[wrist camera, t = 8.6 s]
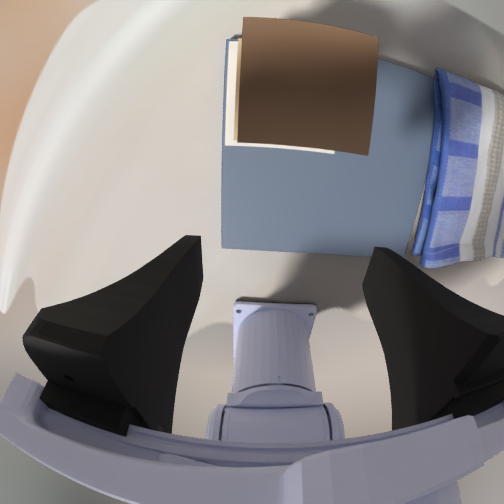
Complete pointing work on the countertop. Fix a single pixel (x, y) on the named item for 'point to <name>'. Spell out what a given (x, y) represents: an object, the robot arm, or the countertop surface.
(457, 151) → the dish towel
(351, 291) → the countertop surface
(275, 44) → the walnut block
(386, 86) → the board
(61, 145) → the countertop surface
